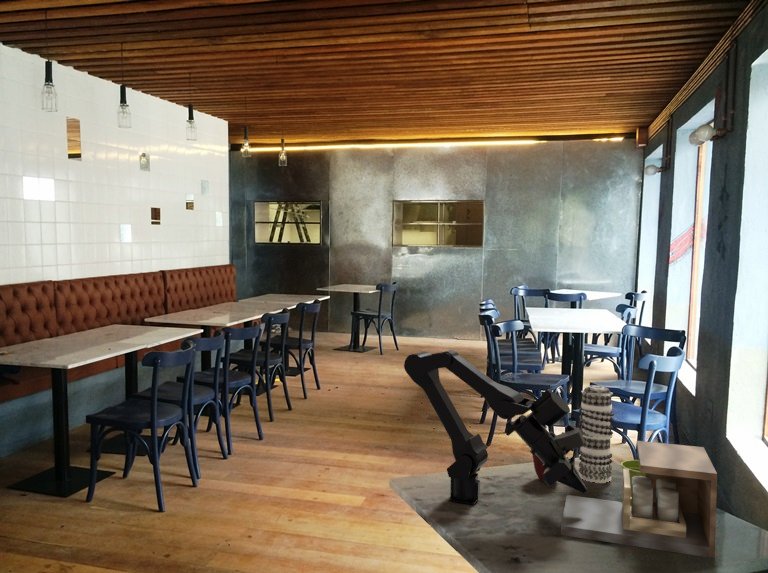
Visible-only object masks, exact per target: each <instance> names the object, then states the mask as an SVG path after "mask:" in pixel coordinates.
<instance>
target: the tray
mask: <svg viewBox="0 0 768 573" xmlns="http://www.w3.org/2000/svg"><path fill="white" fill-rule="evenodd" d="M630 490H631V487H630V477H629V469H624V468H622V501H621V502H622V509H623V528H624V529H627V530H634V531H641V532H648V533H655V534H662V535H669V536H676V537H683V538H686V523H685V520H684V516H683V513H682V510H681V506H680V503H678V501H679V491H678V490H676V482H674V481H672V480H669V479H657V480H656V500H653V488H652V487H651V479H650V478H647V477H643V476H634V477H632V497H630Z"/></svg>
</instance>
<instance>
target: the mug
mask: <svg viewBox="0 0 768 573" xmlns="http://www.w3.org/2000/svg"><path fill="white" fill-rule="evenodd" d="M532 460H533V466H534V471H535V473H536V474H535V475H537V478H538V479H539V481H541V483H545V482H544V481H543V474H544V471H545V468H544V467H543V462H542V461H541V460H540V459H539V458H538V457H537V455H536V454H534V455H532Z"/></svg>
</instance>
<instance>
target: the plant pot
mask: <svg viewBox="0 0 768 573" xmlns="http://www.w3.org/2000/svg"><path fill="white" fill-rule="evenodd" d="M620 467H621V468H622V469H623V468H624V469H629V477H630V487H631V490H630V497H632V477H634V476H643V477H645V473H641V472H640V466H639V459H628V460H624V461H621V463H620Z"/></svg>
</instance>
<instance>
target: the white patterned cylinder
mask: <svg viewBox="0 0 768 573" xmlns="http://www.w3.org/2000/svg"><path fill="white" fill-rule="evenodd" d="M580 392H581V393H582V394H581V397H582V398H581V405H580V407H579V409H578V413H579V414H580V416H579V417H578V419H579V422H578V426H580V428H579V429H580V430H581V432H582V436H583V438H584V440H585V442H584V446H582V447H580V449H579V452H578V453H579V457H578V460H579V463H578V467H579V468H578V474H579V476H580V477H581V479H583V480H582V481H585V480H586V481H585V482H588V481H590V482H589V483H592V482H595V483H594V484H606V482H608V483H609V481H610V482H612V474H613V472H612V470H613V469H612V468H613V466H612V465H611V464H612V463H613V459H611V458H613V453H612V447H611V439H613V435H614V432H613V431H612V430H613V429H614V426H613V425H612V424H611V423H613V422H614V421H615V420H614V418H613V416H615V413H614V412H613V411H612V409H613V404H612V395H613V394H614V393H613V392H611V390H610V389H609V388H608V387H606V386H604V385H597V384H596V385H595V384H591V385H587V386H585V387H584V389H583V390H581V391H580Z"/></svg>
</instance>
